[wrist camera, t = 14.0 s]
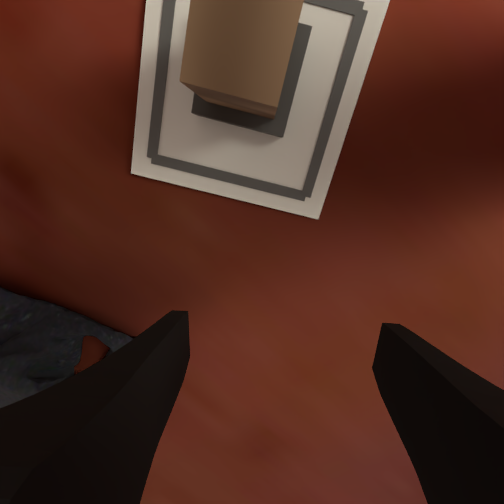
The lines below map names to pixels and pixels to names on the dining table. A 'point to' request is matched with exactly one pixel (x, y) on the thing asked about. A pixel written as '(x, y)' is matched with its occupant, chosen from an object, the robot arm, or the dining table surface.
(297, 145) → the print card
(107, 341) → the dark slate chunk
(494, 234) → the dining table surface
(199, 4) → the stamp
